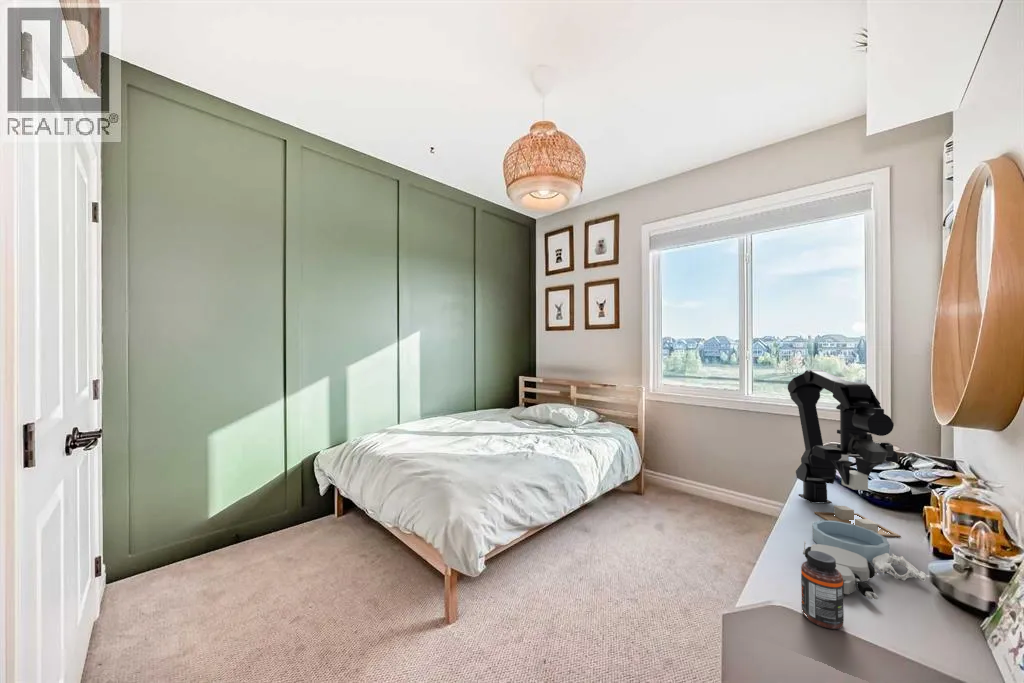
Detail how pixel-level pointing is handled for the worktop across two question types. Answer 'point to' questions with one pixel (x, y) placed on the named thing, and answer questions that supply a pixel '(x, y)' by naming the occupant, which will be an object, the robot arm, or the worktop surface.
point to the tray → (830, 517)
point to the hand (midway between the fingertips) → (854, 484)
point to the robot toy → (849, 568)
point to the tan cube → (844, 512)
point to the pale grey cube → (867, 524)
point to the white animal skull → (895, 560)
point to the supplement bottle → (822, 590)
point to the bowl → (850, 538)
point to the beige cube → (857, 481)
